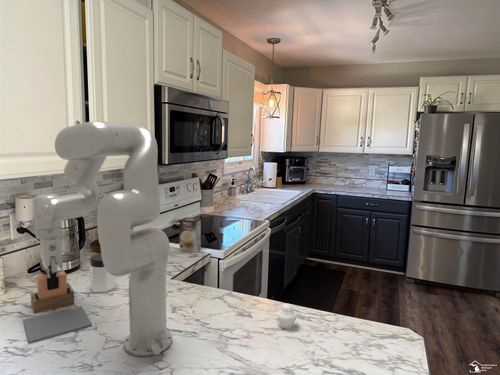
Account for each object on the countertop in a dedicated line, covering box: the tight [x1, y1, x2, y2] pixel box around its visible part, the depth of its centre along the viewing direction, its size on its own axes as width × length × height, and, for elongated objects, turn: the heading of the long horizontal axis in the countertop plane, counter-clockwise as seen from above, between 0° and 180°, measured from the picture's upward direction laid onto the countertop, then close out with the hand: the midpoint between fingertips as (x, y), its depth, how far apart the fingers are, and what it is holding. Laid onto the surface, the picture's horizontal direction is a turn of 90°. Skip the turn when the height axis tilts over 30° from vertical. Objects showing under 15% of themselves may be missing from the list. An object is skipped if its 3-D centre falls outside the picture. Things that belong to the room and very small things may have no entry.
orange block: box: [36, 270, 68, 300], centre depth 116 cm, size 4×8×10 cm, turn 127°
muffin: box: [275, 303, 298, 330], centre depth 106 cm, size 6×6×7 cm
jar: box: [88, 253, 117, 294], centre depth 129 cm, size 9×8×12 cm
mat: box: [22, 305, 93, 344], centre depth 104 cm, size 14×16×1 cm
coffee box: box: [179, 216, 202, 254], centre depth 176 cm, size 9×6×16 cm
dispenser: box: [30, 282, 75, 314], centre depth 117 cm, size 8×12×5 cm
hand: (51, 285), depth 116 cm, fingers closed on orange block, 4 cm apart
